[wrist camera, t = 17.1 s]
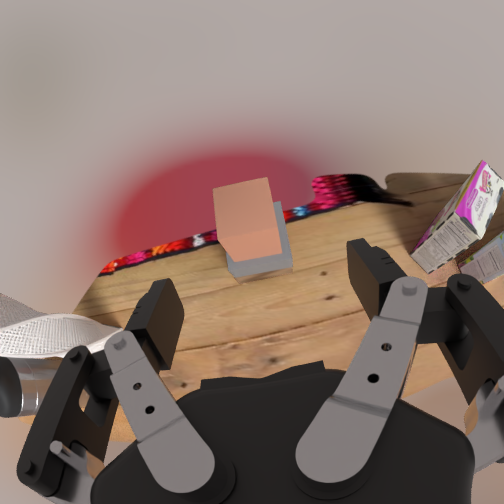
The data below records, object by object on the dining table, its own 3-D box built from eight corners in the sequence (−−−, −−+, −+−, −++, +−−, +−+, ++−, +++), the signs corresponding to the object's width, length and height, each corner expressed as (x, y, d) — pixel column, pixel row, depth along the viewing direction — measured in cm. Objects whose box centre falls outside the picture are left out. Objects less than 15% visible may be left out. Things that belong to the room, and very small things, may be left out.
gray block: (235, 277, 39) (228, 270, 36) (228, 224, 42) (221, 213, 38) (292, 266, 38) (292, 258, 35) (282, 214, 41) (280, 201, 37)
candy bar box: (438, 210, 41) (482, 157, 26) (457, 229, 40) (508, 182, 24) (406, 255, 40) (453, 209, 25) (427, 276, 38) (483, 240, 23)
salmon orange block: (234, 262, 36) (217, 239, 28) (228, 219, 38) (212, 188, 30) (282, 253, 35) (277, 227, 28) (273, 210, 37) (267, 176, 30)
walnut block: (240, 284, 43) (234, 278, 39) (232, 235, 46) (226, 226, 42) (292, 273, 42) (292, 266, 39) (281, 224, 45) (279, 213, 41)
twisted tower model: (95, 314, 45) (-36, 275, 19) (129, 320, 44) (-12, 282, 18) (90, 358, 43) (-43, 345, 16) (125, 369, 41) (-19, 368, 15)
